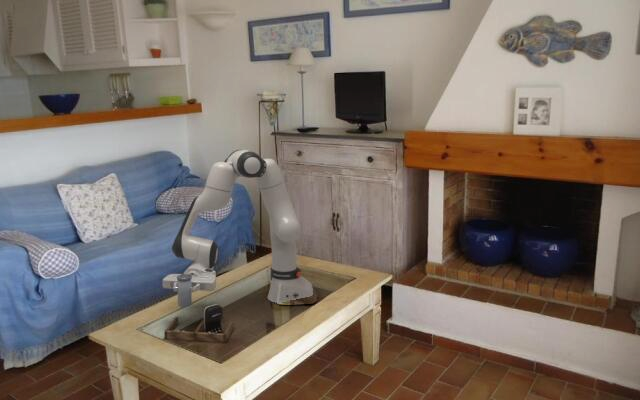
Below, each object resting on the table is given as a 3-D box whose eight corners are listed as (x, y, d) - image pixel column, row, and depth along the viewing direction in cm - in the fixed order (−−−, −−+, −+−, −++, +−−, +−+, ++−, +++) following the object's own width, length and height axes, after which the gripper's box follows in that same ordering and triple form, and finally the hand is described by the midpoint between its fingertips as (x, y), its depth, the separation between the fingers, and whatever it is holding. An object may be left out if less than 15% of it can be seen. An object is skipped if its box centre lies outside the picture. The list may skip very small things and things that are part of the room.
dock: (233, 327, 212) (233, 319, 211) (225, 342, 199) (225, 334, 199) (175, 323, 213) (175, 315, 213) (164, 339, 201) (164, 330, 200)
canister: (194, 301, 207) (193, 274, 204) (189, 307, 202) (189, 279, 199) (180, 301, 207) (179, 273, 205) (175, 306, 202) (174, 278, 200)
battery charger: (208, 339, 202) (208, 310, 200) (203, 335, 205) (202, 307, 202) (224, 333, 207) (224, 305, 204) (218, 330, 209) (218, 302, 207)
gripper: (168, 268, 216) (156, 280, 202) (219, 271, 214) (210, 283, 201) (169, 283, 217) (156, 296, 203) (219, 286, 216) (210, 299, 202)
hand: (183, 290), depth 202 cm, fingers closed on canister, 5 cm apart
